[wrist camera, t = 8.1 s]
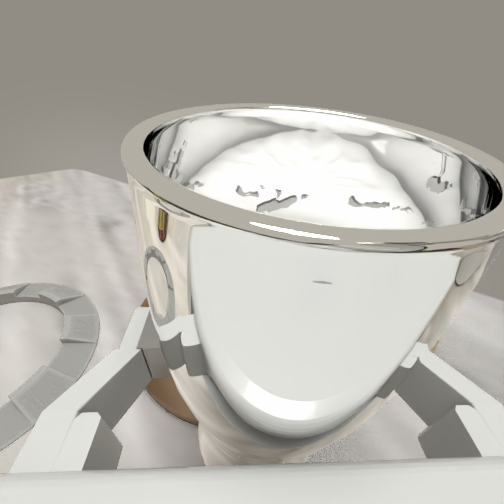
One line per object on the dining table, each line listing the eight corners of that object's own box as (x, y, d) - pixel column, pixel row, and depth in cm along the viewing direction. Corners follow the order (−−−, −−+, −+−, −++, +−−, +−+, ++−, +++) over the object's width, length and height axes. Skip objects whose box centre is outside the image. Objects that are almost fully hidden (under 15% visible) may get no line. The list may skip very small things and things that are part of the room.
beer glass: (177, 388, 15) (102, 102, 6) (280, 349, 18) (341, 100, 8) (211, 552, 11) (100, 401, 1) (346, 467, 13) (662, 196, 4)
